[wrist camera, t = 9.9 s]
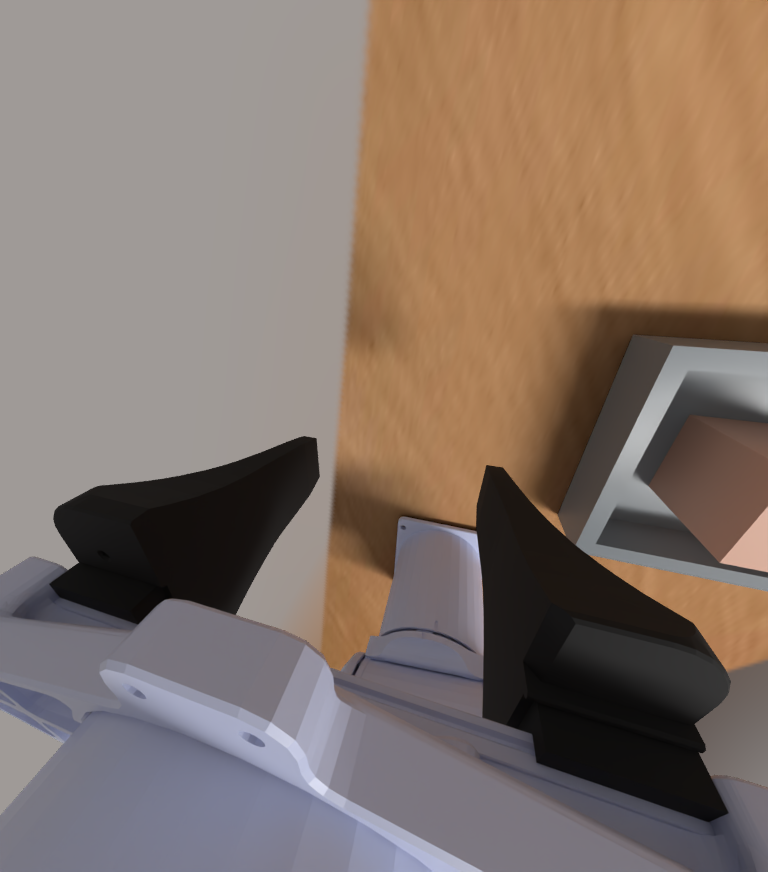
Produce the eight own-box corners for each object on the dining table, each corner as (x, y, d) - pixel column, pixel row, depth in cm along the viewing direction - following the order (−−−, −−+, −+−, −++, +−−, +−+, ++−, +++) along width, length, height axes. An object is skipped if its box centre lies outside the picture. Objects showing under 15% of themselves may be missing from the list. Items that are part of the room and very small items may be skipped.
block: (742, 500, 17) (859, 589, 12) (648, 486, 18) (719, 562, 13) (801, 427, 15) (976, 498, 10) (689, 414, 16) (795, 474, 11)
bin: (770, 553, 19) (827, 603, 16) (557, 514, 22) (572, 551, 19) (960, 355, 13) (1109, 375, 10) (633, 334, 16) (673, 345, 13)
